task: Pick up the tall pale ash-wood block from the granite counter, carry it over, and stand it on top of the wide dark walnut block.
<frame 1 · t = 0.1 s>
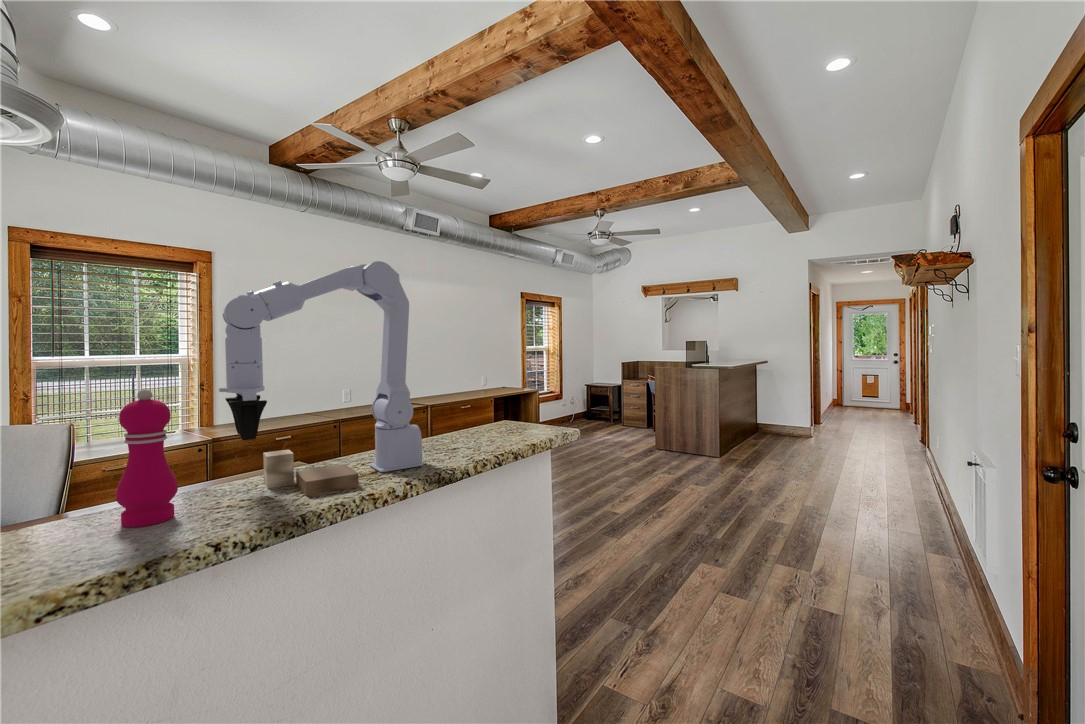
hand: (246, 436, 88), 10 cm above the countertop, fingers open, 7 cm apart
ash block: (278, 483, 92), on the countertop
pepper mill: (148, 521, 72), on the countertop
walnut block: (327, 488, 90), on the countertop
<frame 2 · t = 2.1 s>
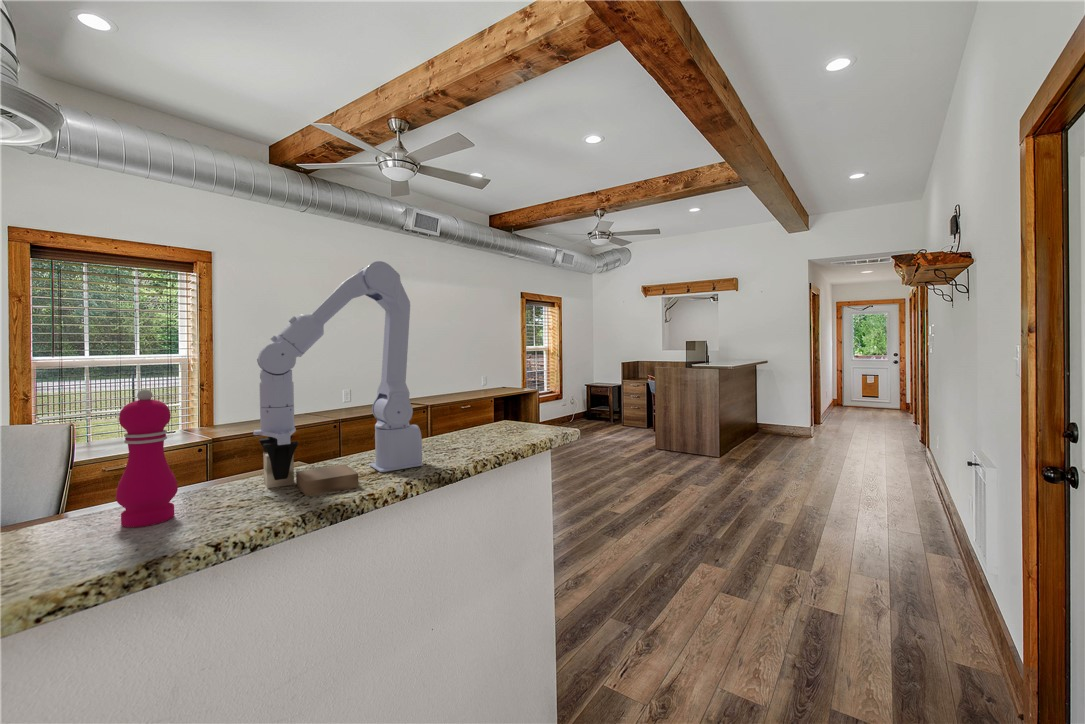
hand: (278, 476, 92), 1 cm above the countertop, fingers closed on ash block, 4 cm apart
ash block: (278, 483, 92), on the countertop, touching gripper
everything else where it was.
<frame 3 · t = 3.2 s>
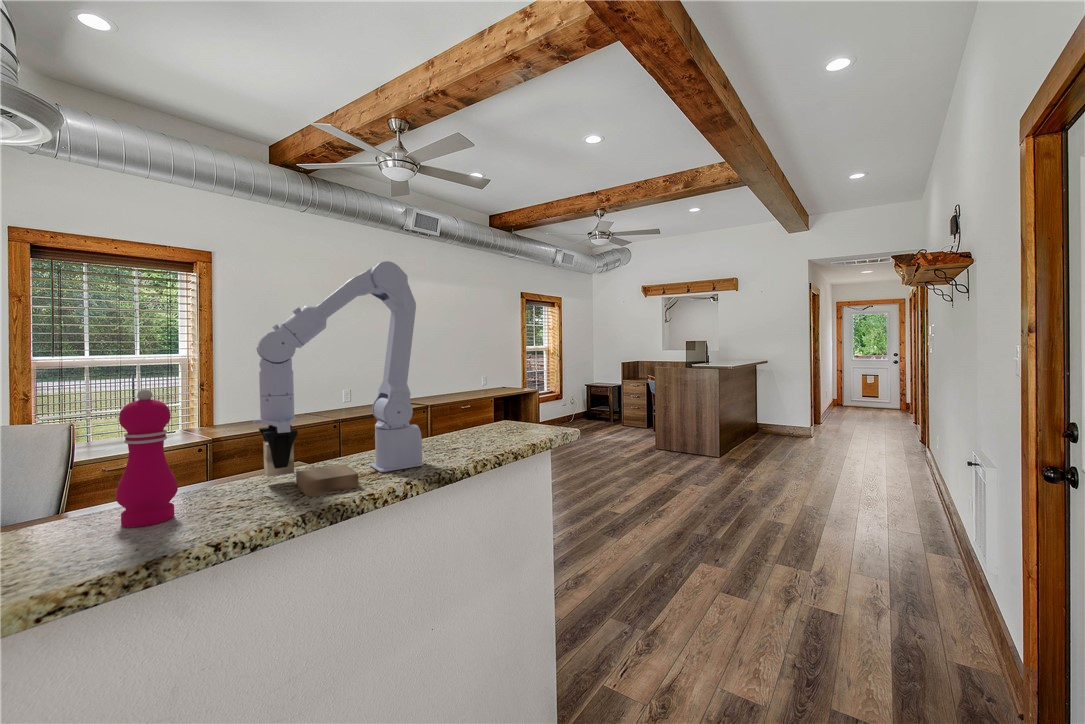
hand: (278, 464, 92), 4 cm above the countertop, fingers closed on ash block, 4 cm apart
ash block: (279, 472, 92), point 2 cm above the countertop, touching gripper
everything else where it was.
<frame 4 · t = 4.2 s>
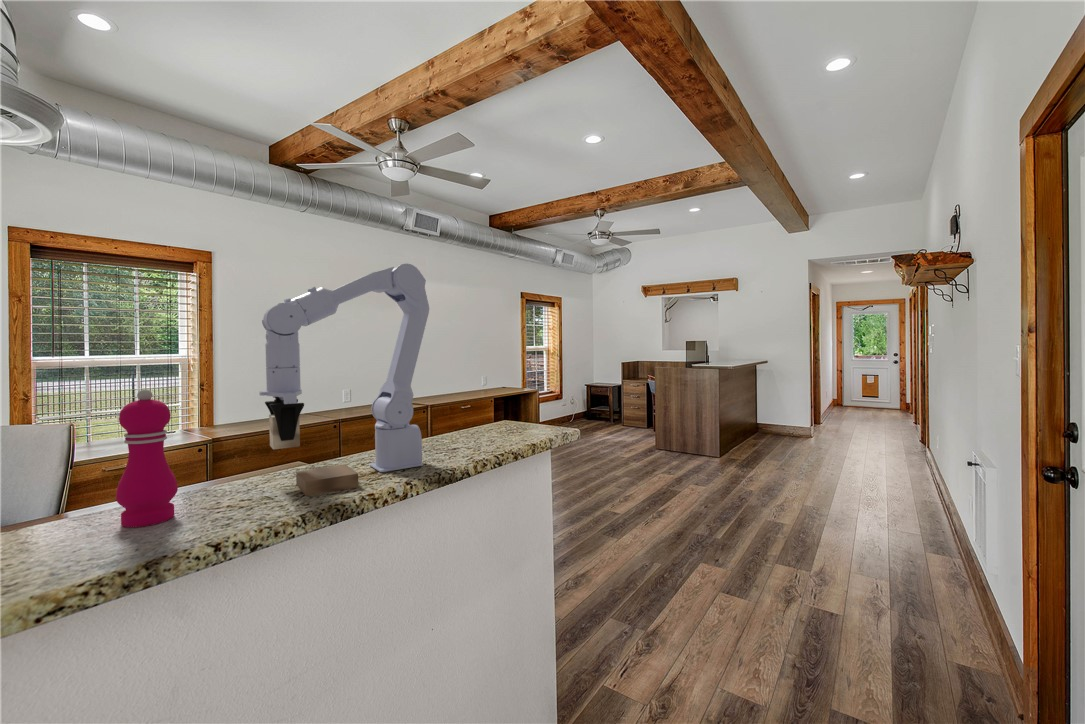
hand: (285, 438, 91), 9 cm above the countertop, fingers closed on ash block, 4 cm apart
ash block: (284, 445, 91), point 7 cm above the countertop, touching gripper
everything else where it was.
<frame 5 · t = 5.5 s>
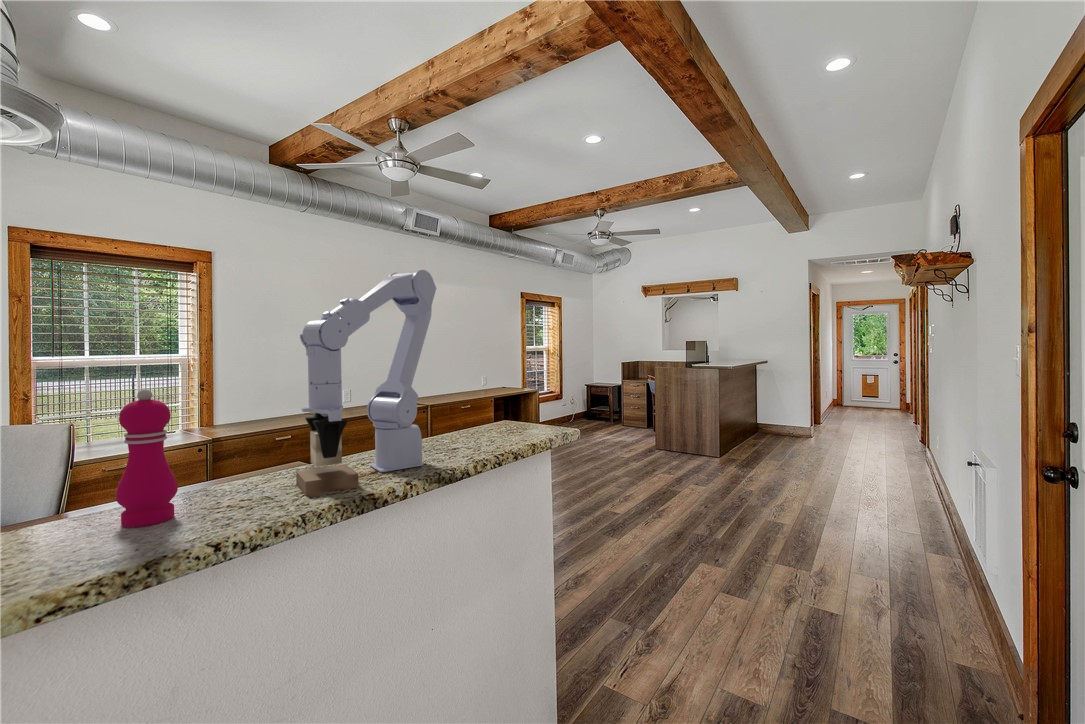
hand: (326, 454, 90), 6 cm above the countertop, fingers closed on ash block, 4 cm apart
ash block: (326, 462, 90), point 4 cm above the countertop, touching gripper
everything else where it was.
when the fingers open (6 cm above the countertop, at t = 6.2 s): ash block drops 2 cm, point 2 cm above the countertop.
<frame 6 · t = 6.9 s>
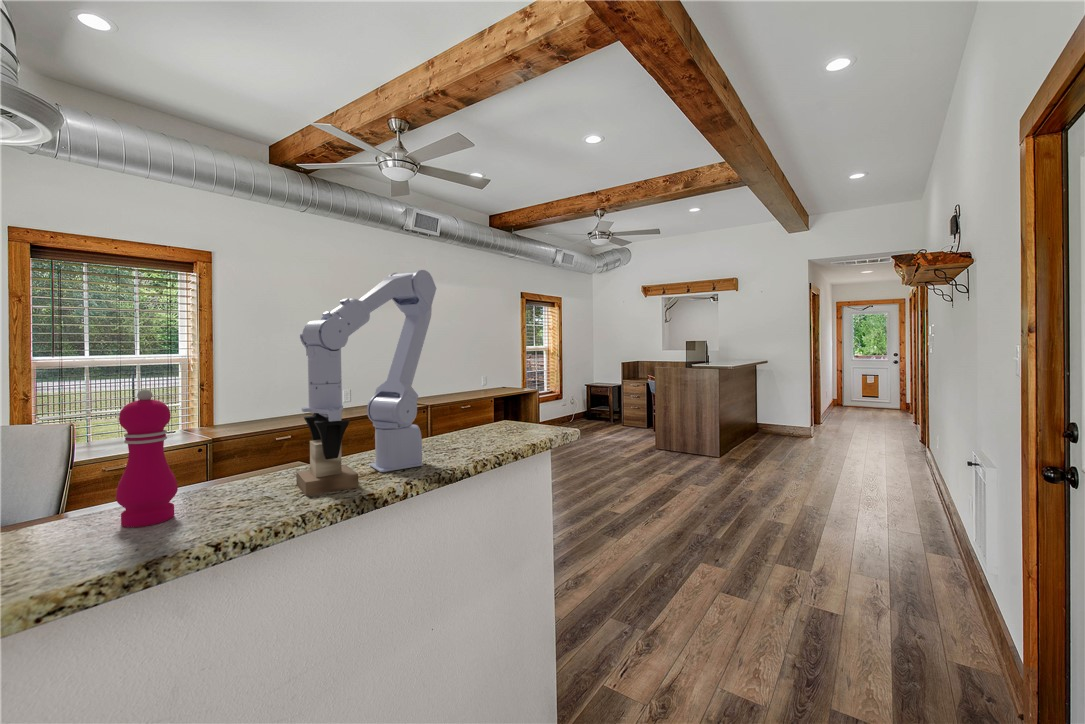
hand: (326, 454, 90), 6 cm above the countertop, fingers open, 7 cm apart
ash block: (325, 472, 90), point 2 cm above the countertop
everything else where it was.
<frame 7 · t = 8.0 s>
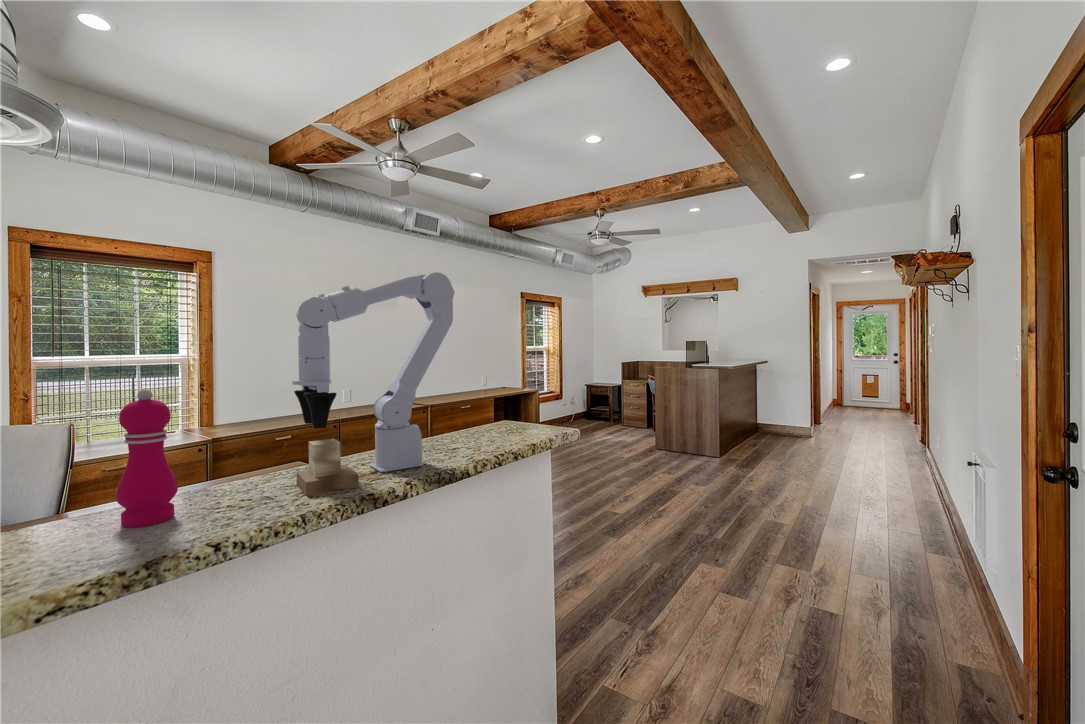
hand: (315, 425, 96), 10 cm above the countertop, fingers open, 7 cm apart
ash block: (325, 473, 90), point 2 cm above the countertop, touching walnut block
walnut block: (327, 488, 90), on the countertop, touching ash block
everything else where it was.
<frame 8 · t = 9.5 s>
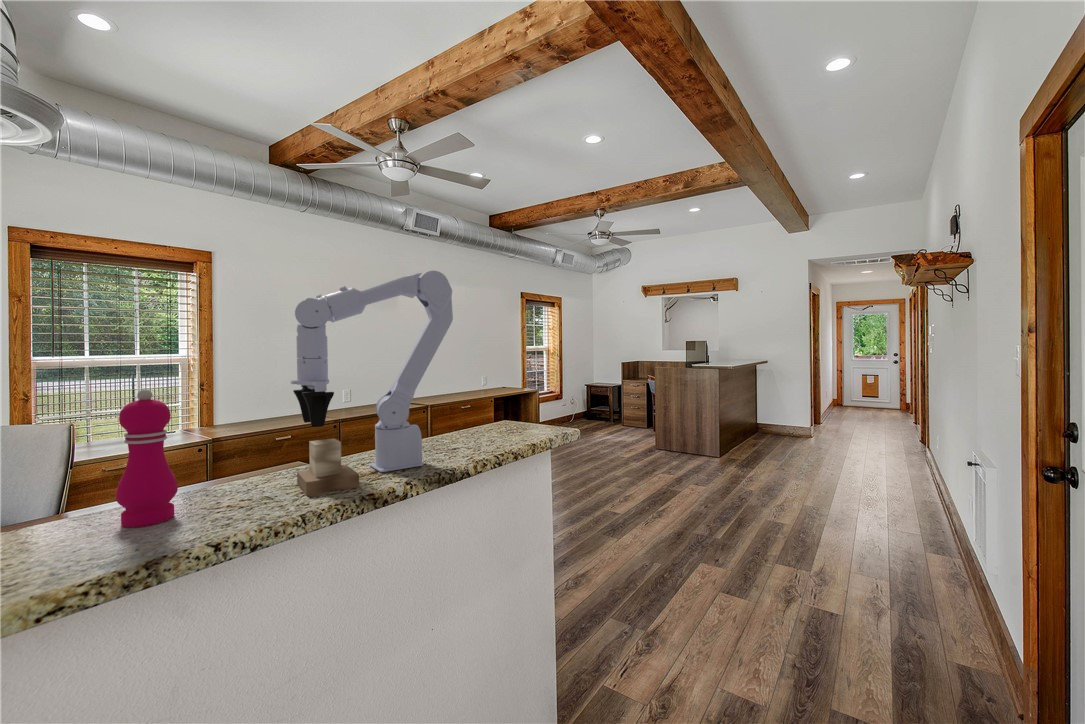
hand: (313, 424, 98), 10 cm above the countertop, fingers open, 7 cm apart
nothing on the countertop moved.
at the end: ash block 0.4 cm off-centre on the walnut block, point 3.0 cm above the walnut block's base; ash block tilted 0°; the gripper is holding nothing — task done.
